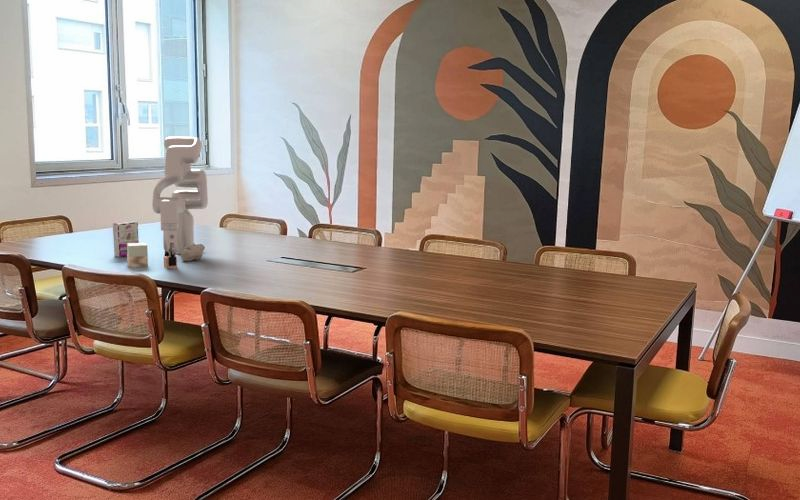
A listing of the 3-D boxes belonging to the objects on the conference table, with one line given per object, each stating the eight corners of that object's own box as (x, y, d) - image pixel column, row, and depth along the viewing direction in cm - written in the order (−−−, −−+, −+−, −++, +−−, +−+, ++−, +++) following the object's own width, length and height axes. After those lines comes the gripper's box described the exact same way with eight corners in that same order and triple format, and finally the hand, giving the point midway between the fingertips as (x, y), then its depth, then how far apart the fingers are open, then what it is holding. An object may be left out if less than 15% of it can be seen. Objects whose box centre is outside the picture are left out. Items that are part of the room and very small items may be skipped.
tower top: (145, 253, 365) (145, 242, 364) (147, 256, 358) (147, 245, 357) (127, 254, 362) (126, 243, 361) (129, 256, 355) (128, 246, 354)
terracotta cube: (175, 266, 361) (174, 255, 360) (177, 268, 357) (176, 257, 356) (163, 267, 359) (163, 256, 358) (165, 269, 354) (165, 258, 354)
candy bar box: (133, 253, 391) (132, 221, 388) (139, 254, 388) (138, 221, 385) (113, 256, 382) (112, 223, 379) (119, 257, 379) (118, 224, 376)
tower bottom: (145, 263, 366) (144, 253, 365) (147, 266, 359) (147, 256, 358) (127, 264, 362) (126, 254, 362) (129, 267, 355) (129, 257, 354)
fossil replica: (175, 261, 373) (194, 265, 370) (175, 245, 371) (194, 248, 368) (189, 255, 384) (207, 259, 381) (189, 239, 382) (208, 242, 379)
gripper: (181, 228, 349) (182, 266, 351) (174, 224, 364) (175, 260, 367) (164, 229, 345) (165, 267, 348) (157, 224, 360) (158, 261, 363)
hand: (170, 263), depth 357 cm, fingers open, 9 cm apart
